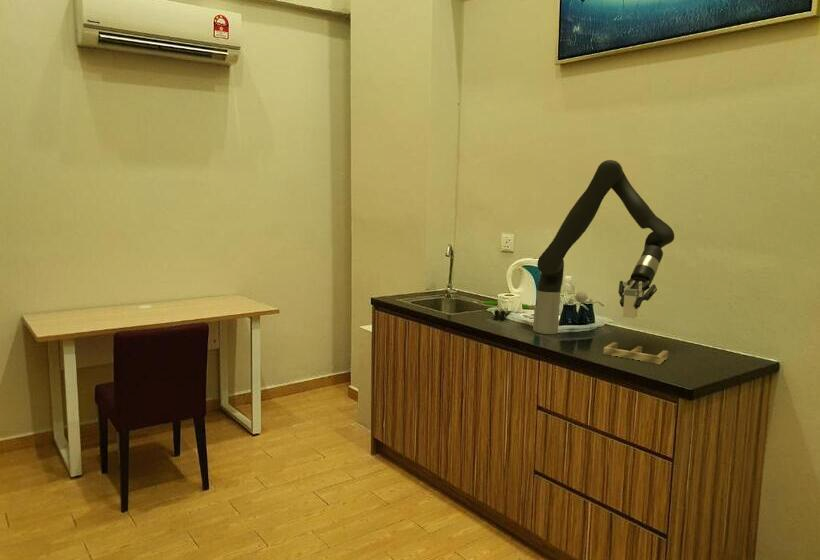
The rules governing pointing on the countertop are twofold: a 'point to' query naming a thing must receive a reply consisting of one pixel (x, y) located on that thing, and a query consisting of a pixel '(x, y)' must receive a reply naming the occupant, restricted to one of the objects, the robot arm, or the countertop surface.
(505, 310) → the figurine
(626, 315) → the cream lidded container
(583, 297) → the toy
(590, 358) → the countertop surface
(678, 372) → the countertop surface
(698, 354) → the countertop surface
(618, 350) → the comb rack
